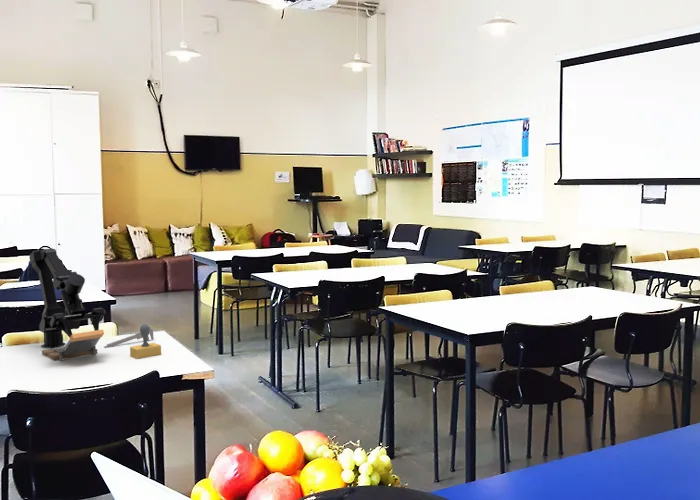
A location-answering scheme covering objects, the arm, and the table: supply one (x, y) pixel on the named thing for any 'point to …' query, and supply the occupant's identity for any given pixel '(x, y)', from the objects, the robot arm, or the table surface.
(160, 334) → the table surface
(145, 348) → the rubber stamp
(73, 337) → the gray slab
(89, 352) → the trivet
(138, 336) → the caliper
